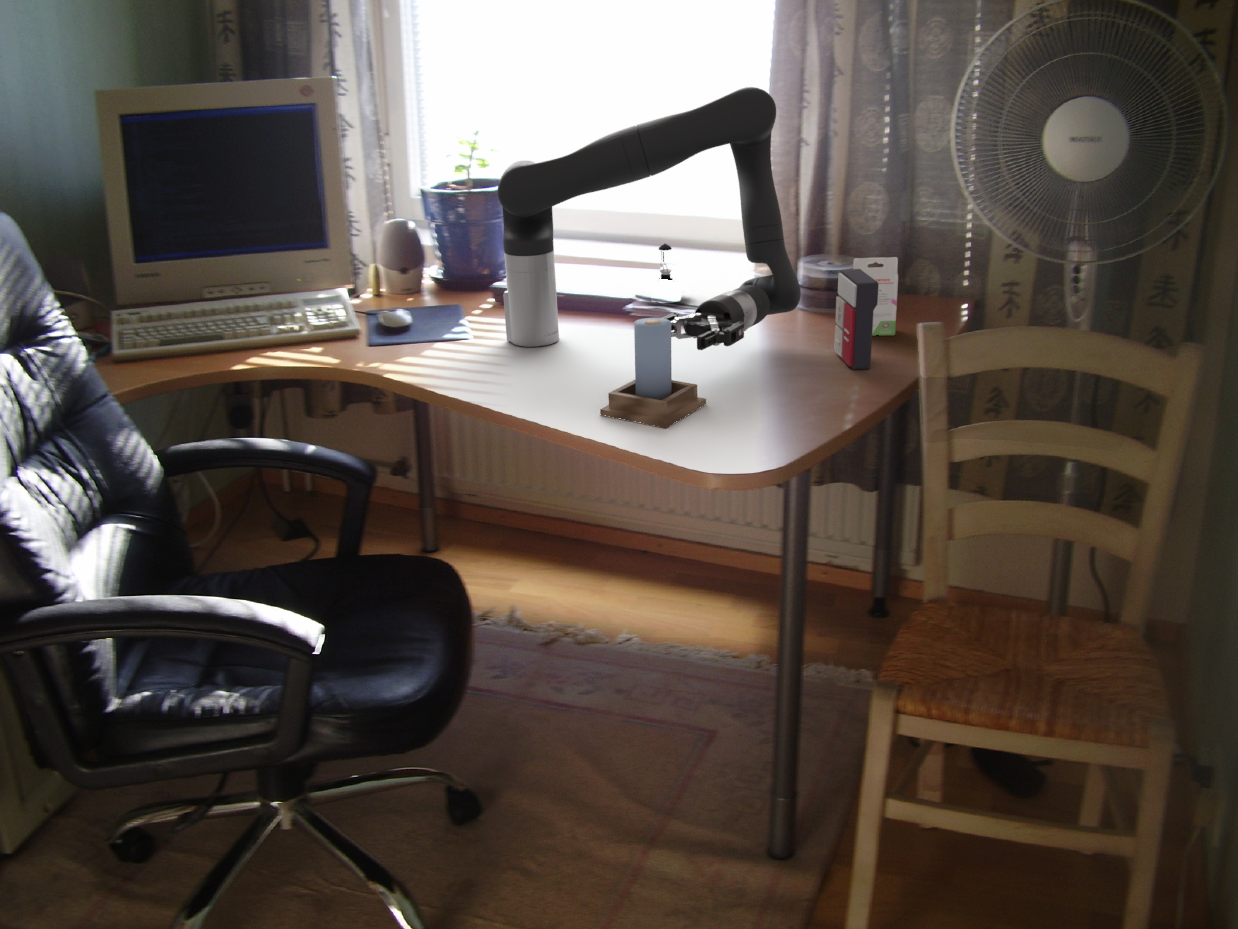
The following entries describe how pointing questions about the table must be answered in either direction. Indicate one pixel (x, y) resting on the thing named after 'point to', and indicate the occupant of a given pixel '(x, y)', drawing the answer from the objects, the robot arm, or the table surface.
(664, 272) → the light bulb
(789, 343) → the table surface
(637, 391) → the blue-grey tall cylinder
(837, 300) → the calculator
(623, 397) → the walnut holder
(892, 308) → the ink box
